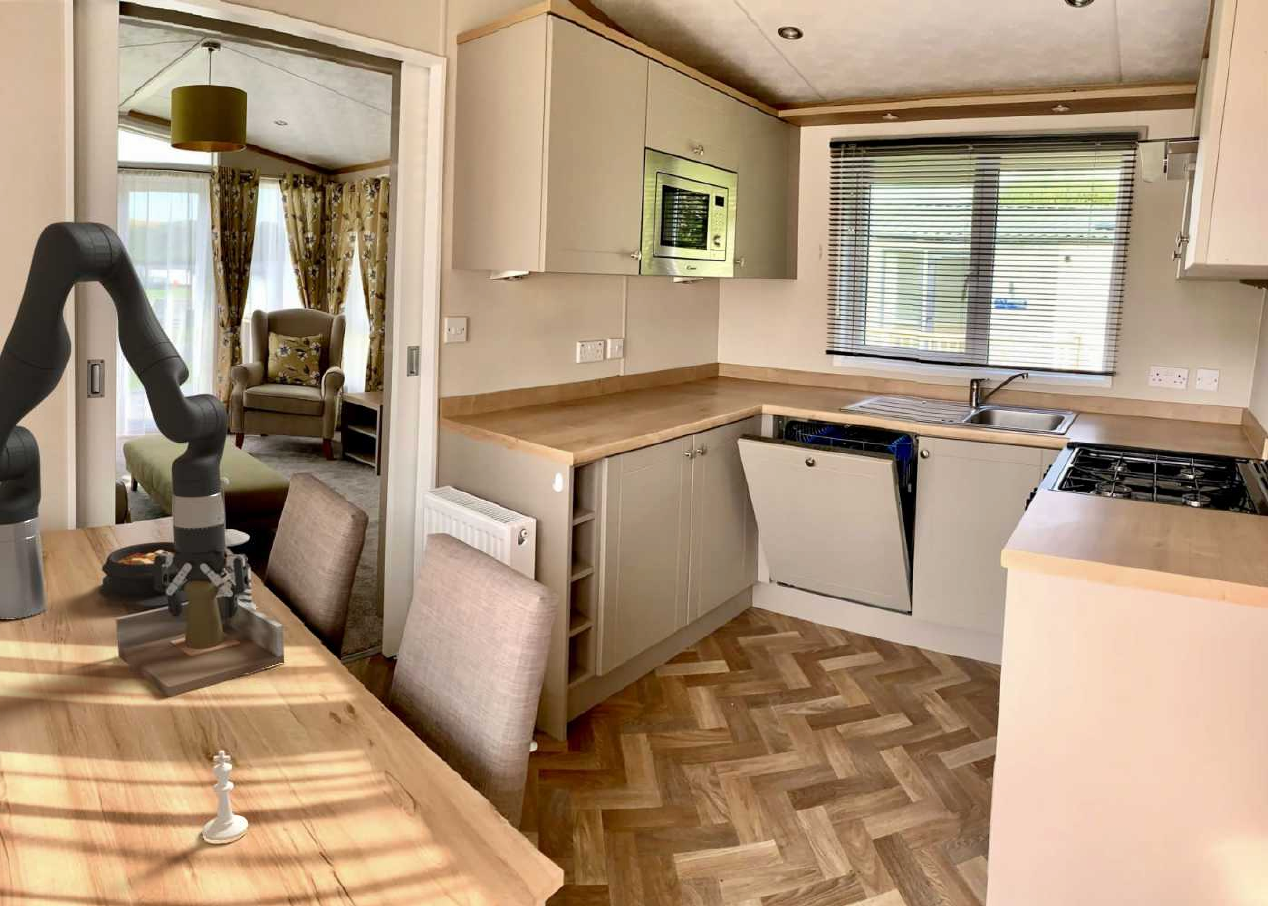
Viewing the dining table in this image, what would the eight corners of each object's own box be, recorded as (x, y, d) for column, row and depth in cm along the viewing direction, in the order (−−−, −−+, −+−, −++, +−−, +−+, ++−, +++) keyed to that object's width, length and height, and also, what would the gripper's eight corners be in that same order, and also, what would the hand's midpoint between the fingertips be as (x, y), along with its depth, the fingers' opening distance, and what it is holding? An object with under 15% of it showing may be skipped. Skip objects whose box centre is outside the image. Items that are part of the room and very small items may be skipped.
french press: (269, 607, 182) (264, 475, 177) (219, 627, 171) (212, 488, 166) (230, 598, 186) (224, 469, 181) (179, 617, 175) (171, 481, 171)
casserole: (232, 601, 184) (230, 558, 183) (127, 625, 171) (123, 579, 170) (178, 569, 201) (176, 529, 200) (79, 588, 188) (75, 546, 187)
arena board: (118, 656, 158) (115, 618, 157) (228, 628, 171) (227, 593, 170) (168, 696, 145) (166, 655, 143) (284, 663, 158) (282, 625, 156)
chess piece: (210, 820, 114) (206, 741, 112) (254, 819, 115) (250, 740, 113) (195, 845, 109) (190, 762, 108) (241, 844, 110) (237, 762, 108)
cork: (228, 644, 160) (225, 580, 158) (188, 651, 157) (184, 586, 155) (220, 632, 165) (217, 569, 163) (181, 639, 162) (177, 575, 160)
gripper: (142, 524, 153) (148, 623, 156) (234, 527, 154) (239, 625, 157) (164, 512, 160) (169, 606, 164) (252, 515, 161) (256, 609, 164)
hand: (203, 616), depth 160 cm, fingers open, 8 cm apart
